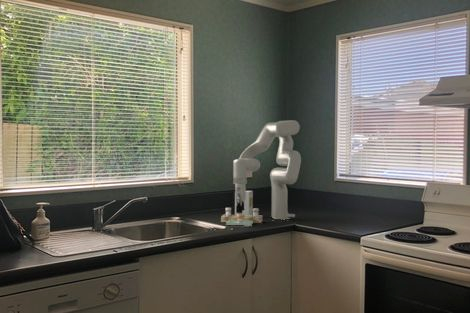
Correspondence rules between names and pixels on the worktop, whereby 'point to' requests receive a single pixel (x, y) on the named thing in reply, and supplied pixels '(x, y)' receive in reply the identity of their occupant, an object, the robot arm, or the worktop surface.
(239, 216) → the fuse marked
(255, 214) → the fuse
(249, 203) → the supplement box
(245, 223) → the tray
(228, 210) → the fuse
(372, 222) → the worktop surface
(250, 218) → the fuse block
